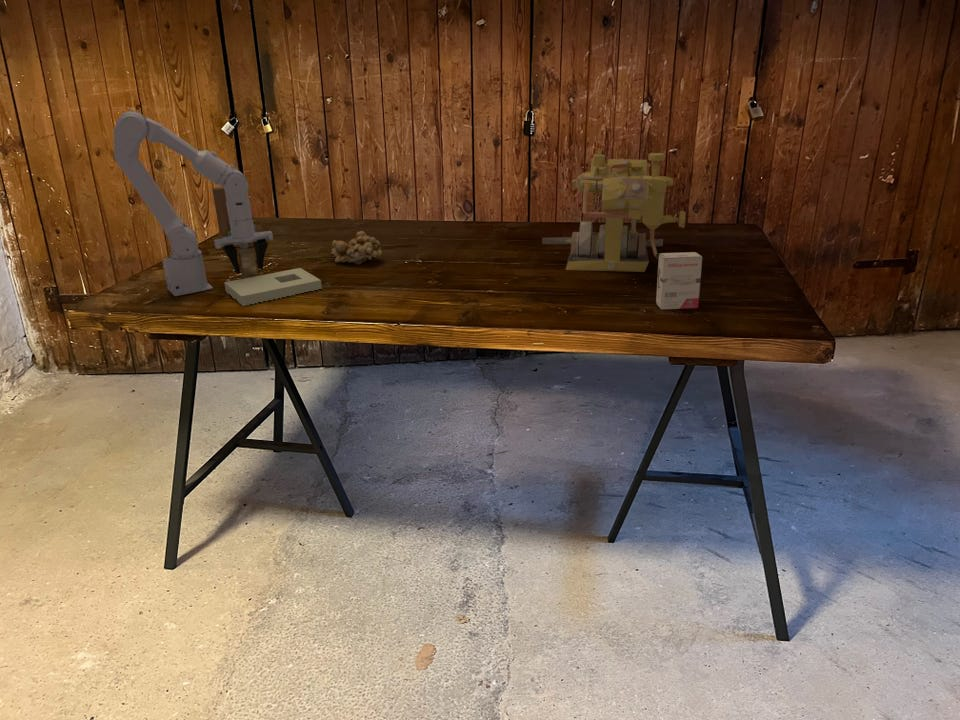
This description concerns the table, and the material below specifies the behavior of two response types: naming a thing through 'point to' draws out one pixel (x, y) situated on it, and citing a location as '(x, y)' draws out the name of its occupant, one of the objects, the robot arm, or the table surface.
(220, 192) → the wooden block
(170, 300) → the table surface
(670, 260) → the ink box
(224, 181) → the robot arm
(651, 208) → the mechanical engine
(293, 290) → the socket board
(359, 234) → the mineral formation
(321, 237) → the table surface
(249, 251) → the birch peg
